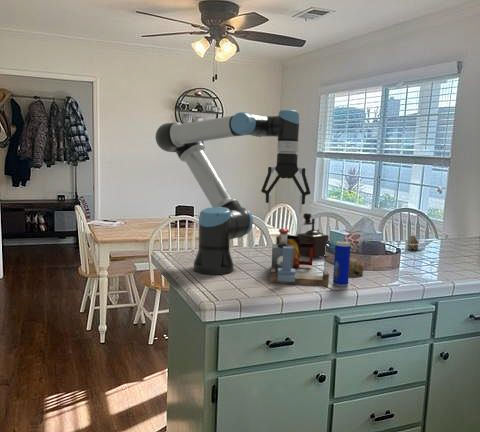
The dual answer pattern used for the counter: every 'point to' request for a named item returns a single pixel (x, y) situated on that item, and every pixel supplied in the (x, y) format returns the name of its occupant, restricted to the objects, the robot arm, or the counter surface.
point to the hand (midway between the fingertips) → (284, 212)
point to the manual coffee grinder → (313, 239)
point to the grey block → (279, 256)
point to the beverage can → (341, 263)
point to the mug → (297, 250)
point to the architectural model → (412, 242)
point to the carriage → (286, 266)
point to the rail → (303, 279)
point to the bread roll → (355, 267)
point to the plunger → (283, 237)
